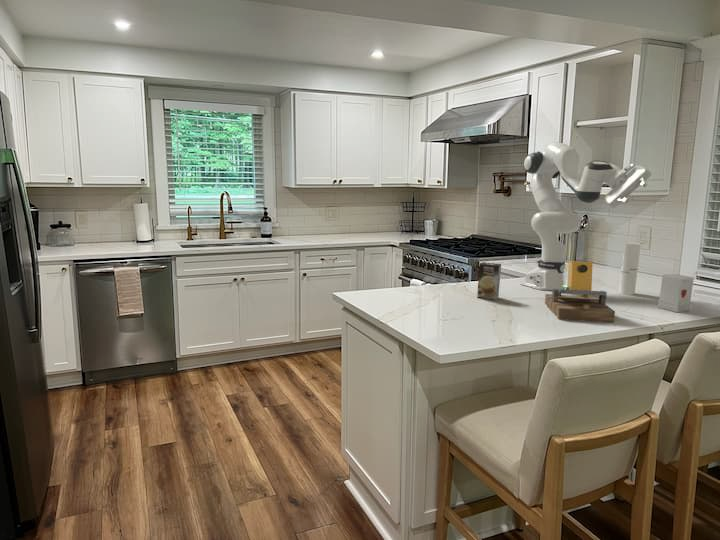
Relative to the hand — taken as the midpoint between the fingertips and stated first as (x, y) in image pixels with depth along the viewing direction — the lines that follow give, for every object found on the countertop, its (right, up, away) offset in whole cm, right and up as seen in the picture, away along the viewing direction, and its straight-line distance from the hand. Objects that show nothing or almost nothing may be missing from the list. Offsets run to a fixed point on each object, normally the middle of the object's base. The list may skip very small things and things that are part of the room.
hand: (635, 193), depth 221 cm
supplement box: (+23, -49, +13) cm, 56 cm away
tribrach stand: (-23, -50, +3) cm, 55 cm away
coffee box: (-55, -45, +26) cm, 76 cm away
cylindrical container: (+18, -44, +44) cm, 65 cm away
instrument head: (-23, -42, +1) cm, 48 cm away
